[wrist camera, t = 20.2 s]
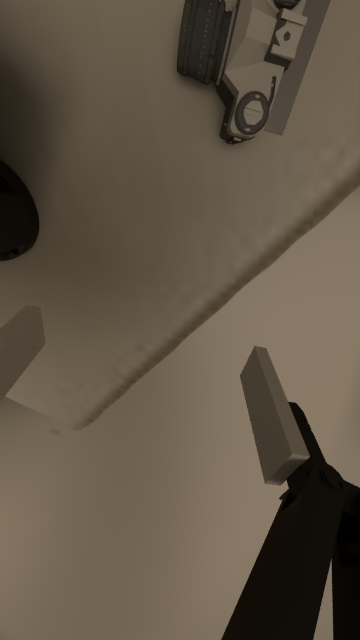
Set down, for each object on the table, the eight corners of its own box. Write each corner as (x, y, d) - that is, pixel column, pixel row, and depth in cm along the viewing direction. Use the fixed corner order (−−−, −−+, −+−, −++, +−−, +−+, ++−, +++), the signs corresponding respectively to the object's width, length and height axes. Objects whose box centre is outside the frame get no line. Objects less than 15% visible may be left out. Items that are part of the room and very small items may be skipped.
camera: (204, -92, 21) (213, -249, 13) (309, -54, 22) (379, -179, 14) (170, 128, 30) (163, 116, 22) (247, 148, 31) (268, 145, 23)
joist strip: (251, 126, 30) (251, 126, 29) (326, -127, 20) (327, -128, 20) (281, 134, 30) (282, 134, 30) (369, -111, 20) (370, -111, 20)
